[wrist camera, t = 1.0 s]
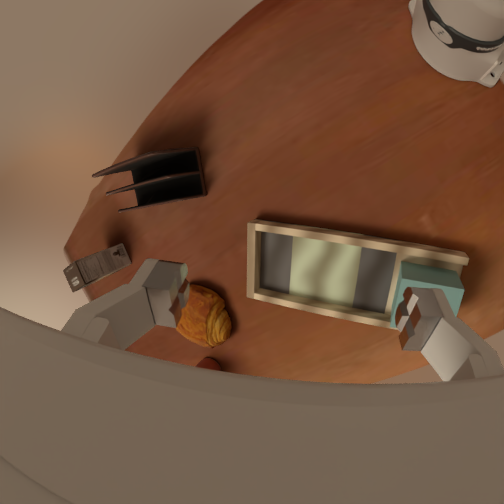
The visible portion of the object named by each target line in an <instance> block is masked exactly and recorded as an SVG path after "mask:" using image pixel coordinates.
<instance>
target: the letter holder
mask: <svg viewBox="0 0 504 504" xmlns="http://www.w3.org/2000/svg"><path fill="white" fill-rule="evenodd" d="M129 170H131V171H132V176H133V181H134V184H131V185H128V186H125V187H122V188H119V189H116V190H113V191H110V192H107V193H106V195H110V194H115V193H119V192H124V191H128V190H133V189H135V193H136V197H137V203H138V206H135V207H130V208H126V209H120V210H119V211H118V212H125V211H130V210H135V209H140V208H145V207H150V206H155V205H160V204H166V203H171V202H176V201H183V200H187V199H192V198H198V197H204V196H206V195H207V194H206V189H205V183H204V177H203V171H202V165H201V159H200V153H199V149H198V147H190V148H176V149H168V150H160V151H151V152H148V153H145V154H142V155H139V156H136V157H133V158H131V159H128V160H125V161H123V162H120V163H117V164H115V165H113V166H110V167H108V168H106V169H103V170H101V171H99V172H97V173H95V174H93V175H92V177H99V176H104V175H109V174H113V173H118V172H124V171H129Z"/></svg>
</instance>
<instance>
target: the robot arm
mask: <svg viewBox="0 0 504 504" xmlns="http://www.w3.org/2000/svg"><path fill="white" fill-rule="evenodd" d="M408 7H409V11H410V13H411V16H412V19H413V22H412V37H413V40H414V43H415V46H416V48H417V50H418V51H419V53H420V54H421V56H422V57H423V58H424V59H425V60H426V61H427V63H429V64H430V65H431V66H432V67H433V68H434V69H436V70H437V71H439V72H440V73H442V74H444V75H446V76H448V77H450V78H453V79H456V80H461V81H475V82H478V83H480V84H482V85H485V86H487V87H493V86H495V84H496V83H497V81H498V79H499V78H500V76H501V74H502V73H503V71H504V0H411V1H410V2H409V6H408ZM491 73H492V74H493V75H494V77H492V76H491ZM187 273H188V271H187V265H186V264H185V263H179V262H172V261H165V260H158V259H151V258H148V259H146V260H145V261H144V263H143V264H142V266H141V267H140V268H139V270H138V271H137V273H136V274H135V276H134V277H133V279H132V280H131V282H130V283H129V284H124V285H122V286H120V287H118V288H116V289H114V290H112V291H111V292H109V293H107V294H105V295H103V296H101V297H99V298H97V299H95V300H93V301H91V302H90V303H88V304H86V305H84V306H82V307H80V308H78V309H76V310H75V312H74V313H73V314H72V316H71V317H70V319H69V320H68V322H67V323H66V324H65V326H64V327H63V329H62V330H61V331H59V330H56V329H53V328H50V327H48V326H45V325H42V324H39V323H37V322H34V321H32V320H29V319H27V318H24V317H22V316H19V315H17V314H15V313H12V312H10V311H8V310H6V309H3V308H1V307H0V504H504V369H503V367H502V364H501V362H500V359H499V357H498V355H497V352H496V351H495V350H494V349H493V348H492V347H491V346H490V345H489V344H488V343H487V342H485V341H484V340H483V339H482V338H481V337H480V336H479V335H478V334H477V333H475V332H474V331H473V330H472V329H471V328H470V327H469V326H467V325H466V324H465V323H464V322H463V321H462V320H461V319H459V318H456V317H455V315H454V313H453V311H452V309H451V306H450V304H449V302H448V300H447V298H446V296H445V294H444V292H443V290H442V289H438V288H417V287H407V288H406V289H405V291H404V293H403V297H404V300H403V301H402V302H400V303H399V304H398V307H397V309H396V314H395V324H396V328H397V329H398V330H399V331H400V332H401V333H400V335H399V340H400V344H401V348H402V350H409V351H421V353H422V354H423V355H424V357H425V358H426V359H427V360H428V362H429V363H430V364H431V366H432V367H433V368H434V369H435V371H436V372H437V373H438V375H439V376H440V377H441V379H442V380H443V381H442V382H428V383H409V384H408V383H405V384H349V383H326V382H310V381H297V380H286V379H276V378H267V377H259V376H251V375H243V374H236V373H230V372H223V371H217V370H211V369H205V368H200V367H194V366H189V365H184V364H179V363H174V362H170V361H165V360H161V359H156V358H152V357H148V356H144V355H140V354H136V353H132V352H128V351H124V350H125V349H126V348H127V347H128V346H130V345H131V344H132V343H134V342H135V341H136V340H137V339H139V338H140V337H141V336H143V335H144V334H145V333H146V332H148V331H149V330H150V329H152V328H153V327H154V326H155V325H161V326H167V327H174V328H177V325H178V323H179V321H180V319H181V316H182V312H181V309H182V308H184V307H186V304H187V302H188V298H189V290H190V287H189V282H188V281H187V279H186V278H185V277H186V275H187Z"/></svg>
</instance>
